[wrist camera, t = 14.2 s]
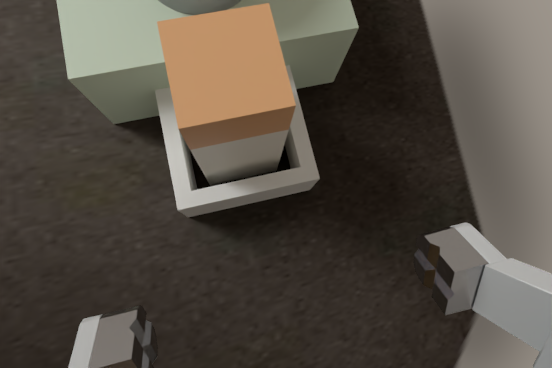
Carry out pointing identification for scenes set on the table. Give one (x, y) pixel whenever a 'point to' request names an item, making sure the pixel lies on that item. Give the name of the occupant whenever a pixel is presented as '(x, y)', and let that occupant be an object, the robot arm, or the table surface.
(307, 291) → the table surface
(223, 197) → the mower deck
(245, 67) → the two-tone orange block
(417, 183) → the table surface
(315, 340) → the table surface
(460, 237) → the robot arm
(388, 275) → the table surface
